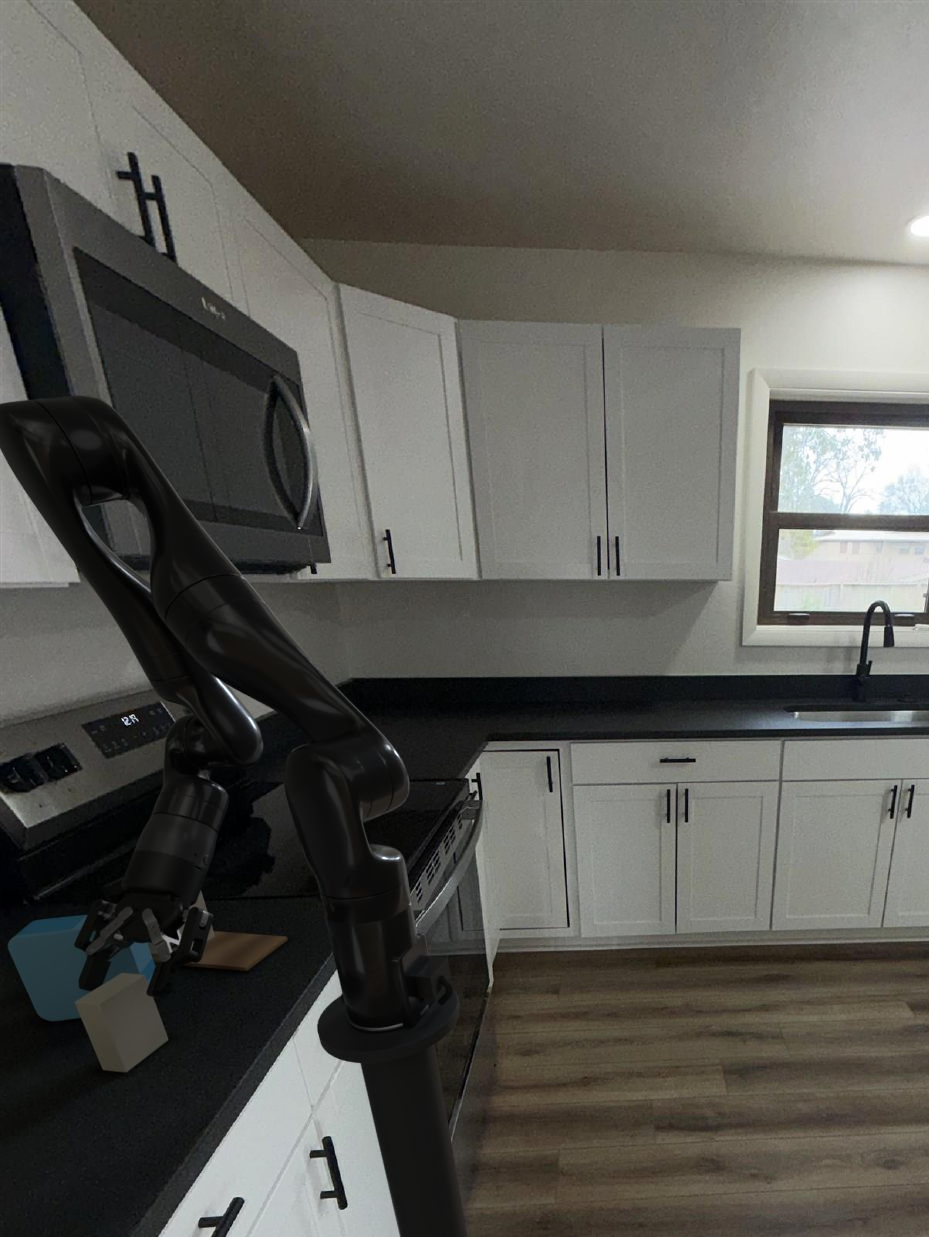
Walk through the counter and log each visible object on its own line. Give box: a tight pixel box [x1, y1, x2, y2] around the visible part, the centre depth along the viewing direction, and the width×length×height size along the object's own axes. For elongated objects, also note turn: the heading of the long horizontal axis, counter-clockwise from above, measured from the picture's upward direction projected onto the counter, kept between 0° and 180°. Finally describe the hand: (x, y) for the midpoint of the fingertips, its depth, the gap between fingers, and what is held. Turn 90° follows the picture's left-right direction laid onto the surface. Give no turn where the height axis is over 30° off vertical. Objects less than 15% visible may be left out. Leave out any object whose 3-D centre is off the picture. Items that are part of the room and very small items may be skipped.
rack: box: [101, 875, 289, 972], centre depth 101 cm, size 18×9×12 cm, turn 81°
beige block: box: [75, 973, 169, 1073], centre depth 80 cm, size 3×6×9 cm, turn 171°
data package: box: [7, 914, 156, 1022], centre depth 88 cm, size 12×4×12 cm, turn 105°
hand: (121, 994), depth 79 cm, fingers open, 8 cm apart
